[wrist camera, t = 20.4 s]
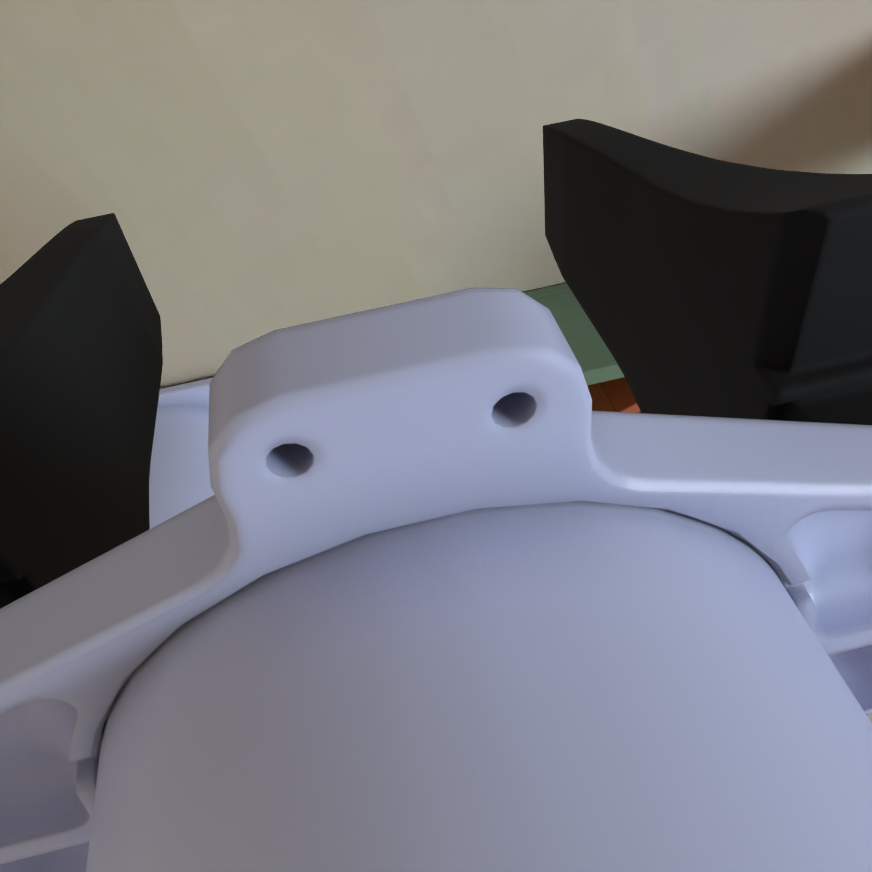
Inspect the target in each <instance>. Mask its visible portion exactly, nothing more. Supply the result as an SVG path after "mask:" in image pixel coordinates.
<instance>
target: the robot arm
mask: <svg viewBox="0 0 872 872" xmlns="http://www.w3.org/2000/svg"><path fill="white" fill-rule="evenodd" d="M543 151H544V195H545V235H546V238H547V240H548V243H549V245H550V248H551V250H552V253H553V255H554V258H555V260H556V262H557V265H558V267H559V269H560V272H561V274H562V276H563V278H564V280H565V281H566V283H567V285H568V286H569V288H570V289H571V291H572V293H573V294H574V296H575V297H576V299H577V301H578V302H579V304H580V305H581V307H582V309H583V310H584V312H585V313H586V315H587V316H588V318H589V320H590V321H591V323H592V324H593V326H594V327H595V329H596V330H597V332H598V334H599V335H600V337H601V338H602V340H603V341H604V343H605V345H606V346H607V348H608V349H609V351H610V352H611V354H612V356H613V357H614V359H615V361H616V362H617V364H618V366H619V368H620V369H621V371H622V373H623V375H624V377H625V379H626V381H627V383H628V385H629V387H630V389H631V392H632V394H633V396H634V398H635V400H636V402H637V405H638V407H639V409H640V411H641V413H627V412H608V411H592V398H591V395H590V392H589V389H588V386H587V384H586V381H585V378H584V375H583V372H582V369H581V366H580V365H579V363H578V361H577V359H576V357H575V355H574V354H573V352H572V350H571V348H570V346H569V345H568V343H567V341H566V339H565V337H564V335H563V334H562V332H561V330H560V328H559V326H558V324H557V323H556V321H555V319H554V317H553V315H552V313H551V312H550V310H549V309H548V308H547V307H545V306H544V305H542V304H540V303H539V302H537V301H536V300H534V299H532V298H531V297H529V296H528V295H526V294H524V293H523V292H521V291H520V290H518V289H506V288H469V289H464V290H460V291H455V292H450V293H446V294H441V295H437V296H432V297H427V298H423V299H418V300H413V301H409V302H404V303H399V304H395V305H390V306H385V307H381V308H376V309H371V310H367V311H362V312H357V313H353V314H348V315H343V316H339V317H334V318H330V319H325V320H320V321H316V322H311V323H306V324H302V325H297V326H292V327H288V328H283V329H278V330H274V331H272V332H270V333H268V334H266V335H263V336H261V337H259V338H257V339H255V340H253V341H251V342H248V343H246V344H244V345H242V346H240V347H238V348H236V349H233V350H232V351H231V353H230V354H229V355H228V357H227V358H226V360H225V361H224V363H223V364H222V366H221V367H220V368H219V370H218V371H217V373H216V374H215V376H214V377H213V378H208V379H203V380H199V381H194V382H190V383H185V384H180V385H176V386H171V387H167V388H162V389H160V383H161V374H162V364H163V360H162V336H161V321H160V315H159V313H158V311H157V308H156V306H155V304H154V302H153V299H152V297H151V295H150V293H149V290H148V288H147V286H146V284H145V281H144V279H143V277H142V275H141V272H140V270H139V268H138V266H137V263H136V261H135V259H134V257H133V254H132V252H131V250H130V248H129V245H128V243H127V241H126V239H125V236H124V234H123V232H122V230H121V227H120V225H119V223H118V221H117V218H116V216H115V214H114V213H111V214H106V215H102V216H97V217H92V218H87V219H82V220H77V221H75V222H73V223H72V224H70V225H68V226H67V227H66V228H64V229H63V230H62V231H60V232H59V233H58V234H57V235H56V236H55V237H53V238H52V239H51V240H50V241H49V242H48V243H47V244H45V245H44V246H43V247H42V248H41V249H40V250H39V251H38V252H37V253H36V254H34V255H33V256H32V257H31V258H30V259H29V260H28V261H27V262H26V263H24V264H23V265H22V266H21V267H20V268H19V269H18V270H17V271H16V272H14V273H13V274H12V275H11V276H10V277H9V278H8V279H6V280H5V281H4V282H3V283H2V284H0V872H872V723H871V722H870V720H869V719H868V717H867V715H868V714H871V713H872V174H823V173H810V172H797V171H784V170H776V169H767V168H760V167H755V166H749V165H743V164H737V163H731V162H726V161H722V160H717V159H713V158H709V157H705V156H701V155H697V154H694V153H690V152H686V151H683V150H679V149H676V148H673V147H669V146H666V145H663V144H660V143H657V142H654V141H651V140H648V139H645V138H642V137H639V136H636V135H633V134H630V133H628V132H625V131H622V130H619V129H616V128H613V127H610V126H607V125H604V124H600V123H597V122H593V121H589V120H584V119H574V120H569V121H565V122H560V123H555V124H550V125H545V126H543Z"/></svg>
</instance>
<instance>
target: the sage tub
mask: <svg viewBox="0 0 872 872" xmlns="http://www.w3.org/2000/svg"><path fill="white" fill-rule="evenodd" d="M523 293H524V294H526V295H528V296H529V297H531V298H532V299H534V300H536V301H537V302H539V303H540V304H542V305H544V306H545V307H547V308H548V309H549V310H550V312H551V313H552V315H553V317H554V319H555V321H556V323H557V324H558V326H559V328H560V330H561V332H562V334H563V335H564V337H565V339H566V341H567V343H568V345H569V346H570V348H571V350H572V352H573V354H574V355H575V357H576V359H577V361H578V363H579V365H580V366H581V369H582V372H583V375H584V378H585V381H586V384H587V385H592V384H596V383H601V382H605V381H610V380H614V379H619V378H623V377H624V375H623V373H622V371H621V369H620V368H619V366H618V364H617V362H616V361H615V359H614V357H613V356H612V354H611V352H610V351H609V349H608V348H607V346H606V345H605V343H604V341H603V340H602V338H601V337H600V335H599V334H598V332H597V330H596V329H595V327H594V326H593V324H592V323H591V321H590V320H589V318H588V316H587V315H586V313H585V312H584V310H583V309H582V307H581V305H580V304H579V302H578V301H577V299H576V297H575V296H574V294H573V293H572V291H571V289H570V288H569V286H568V285H567V283H564V284H559V285H554V286H550V287H545V288H541V289H536V290H531V291H527V292H523Z"/></svg>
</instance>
